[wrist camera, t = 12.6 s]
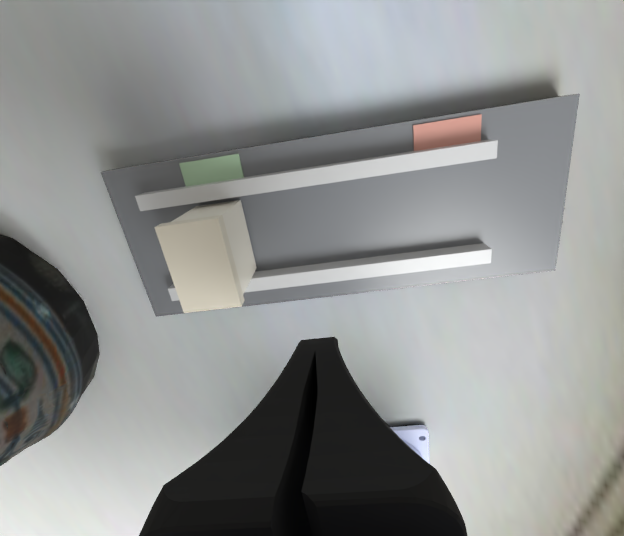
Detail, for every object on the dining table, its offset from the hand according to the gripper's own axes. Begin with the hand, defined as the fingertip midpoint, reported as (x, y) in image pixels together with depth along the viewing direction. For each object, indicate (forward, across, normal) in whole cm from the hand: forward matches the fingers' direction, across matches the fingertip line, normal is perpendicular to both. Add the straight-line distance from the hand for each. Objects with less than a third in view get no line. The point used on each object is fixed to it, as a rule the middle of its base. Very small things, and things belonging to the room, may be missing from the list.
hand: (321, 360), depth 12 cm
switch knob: (+8, +5, -3) cm, 10 cm away
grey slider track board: (+9, -1, -3) cm, 10 cm away
